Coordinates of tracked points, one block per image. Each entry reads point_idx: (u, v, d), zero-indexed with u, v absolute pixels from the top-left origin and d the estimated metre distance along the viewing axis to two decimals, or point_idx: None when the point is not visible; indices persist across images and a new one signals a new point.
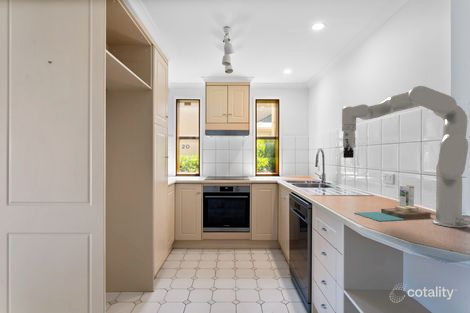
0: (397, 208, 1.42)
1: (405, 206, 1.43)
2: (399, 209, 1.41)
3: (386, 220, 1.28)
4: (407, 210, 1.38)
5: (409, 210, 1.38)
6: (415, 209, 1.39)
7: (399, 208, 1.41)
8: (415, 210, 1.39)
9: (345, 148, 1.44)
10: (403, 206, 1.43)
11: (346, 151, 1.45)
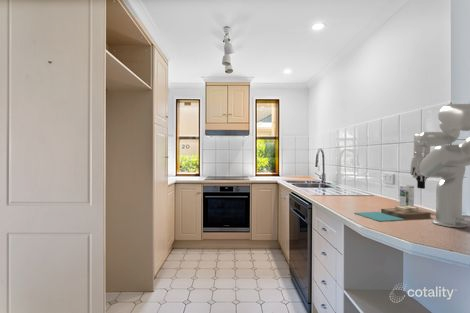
0: (397, 208, 1.42)
1: (405, 206, 1.43)
2: (399, 209, 1.41)
3: (386, 220, 1.28)
4: (407, 210, 1.38)
5: (409, 210, 1.38)
6: (415, 209, 1.39)
7: (399, 208, 1.41)
8: (415, 210, 1.39)
9: None
10: (403, 206, 1.43)
11: None
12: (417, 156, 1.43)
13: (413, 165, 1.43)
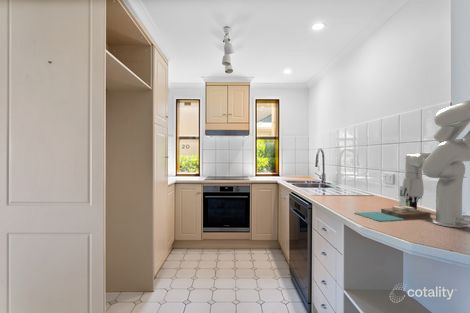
0: (394, 208, 1.42)
1: (402, 206, 1.43)
2: (396, 209, 1.41)
3: (386, 220, 1.28)
4: (404, 210, 1.38)
5: (406, 210, 1.38)
6: (412, 209, 1.39)
7: (396, 208, 1.41)
8: (412, 210, 1.39)
9: None
10: (400, 206, 1.43)
11: None
12: (409, 177, 1.41)
13: (405, 186, 1.42)
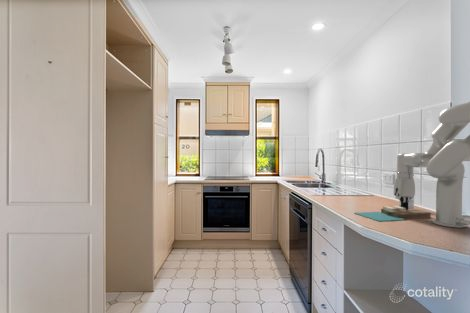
0: (385, 208, 1.41)
1: (393, 206, 1.42)
2: (386, 209, 1.40)
3: (386, 220, 1.28)
4: (394, 210, 1.37)
5: (396, 210, 1.37)
6: (403, 209, 1.38)
7: (386, 208, 1.40)
8: (403, 210, 1.38)
9: None
10: (391, 206, 1.42)
11: None
12: (400, 177, 1.40)
13: (396, 186, 1.41)
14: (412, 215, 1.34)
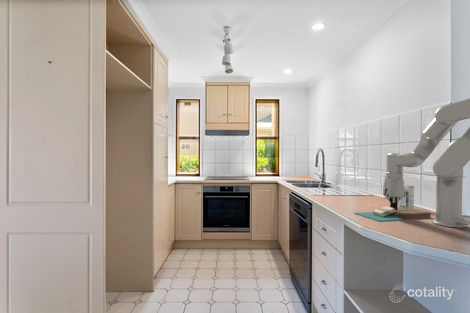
0: (375, 213, 1.40)
1: (382, 208, 1.41)
2: (376, 214, 1.38)
3: (386, 220, 1.28)
4: (384, 214, 1.36)
5: (386, 213, 1.36)
6: (392, 210, 1.37)
7: (376, 213, 1.38)
8: (392, 211, 1.37)
9: None
10: (380, 209, 1.41)
11: None
12: (389, 177, 1.38)
13: (385, 186, 1.39)
14: (412, 215, 1.34)
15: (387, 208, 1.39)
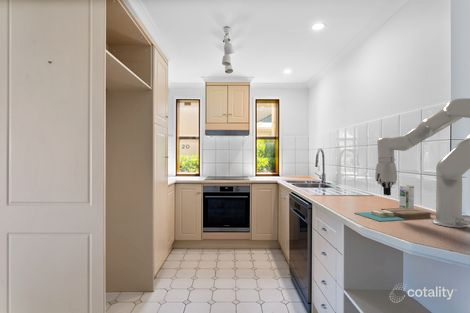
0: (373, 213, 1.39)
1: (381, 211, 1.40)
2: (375, 214, 1.38)
3: (386, 220, 1.28)
4: (382, 215, 1.35)
5: (385, 215, 1.36)
6: (391, 214, 1.37)
7: (375, 213, 1.38)
8: (391, 215, 1.37)
9: None
10: (379, 211, 1.41)
11: None
12: (381, 161, 1.37)
13: (377, 171, 1.37)
14: (412, 215, 1.34)
15: (386, 211, 1.39)
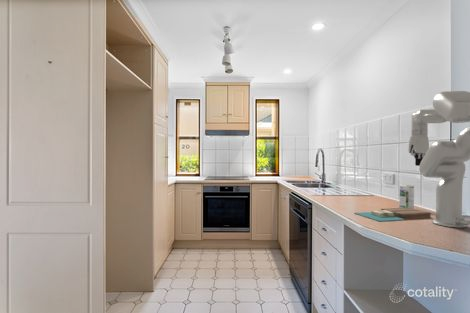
0: (373, 213, 1.39)
1: (381, 211, 1.40)
2: (375, 214, 1.38)
3: (386, 220, 1.28)
4: (382, 215, 1.35)
5: (385, 215, 1.36)
6: (391, 214, 1.37)
7: (375, 213, 1.38)
8: (391, 215, 1.37)
9: None
10: (379, 211, 1.41)
11: None
12: (415, 134, 1.47)
13: (411, 143, 1.48)
14: (412, 215, 1.34)
15: (386, 211, 1.39)
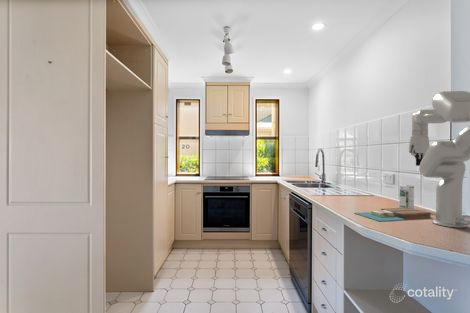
0: (373, 213, 1.39)
1: (381, 211, 1.40)
2: (375, 214, 1.38)
3: (386, 220, 1.28)
4: (382, 215, 1.35)
5: (385, 215, 1.36)
6: (391, 214, 1.37)
7: (375, 213, 1.38)
8: (391, 215, 1.37)
9: None
10: (379, 211, 1.41)
11: None
12: (415, 134, 1.47)
13: (411, 143, 1.48)
14: (412, 215, 1.34)
15: (386, 211, 1.39)
